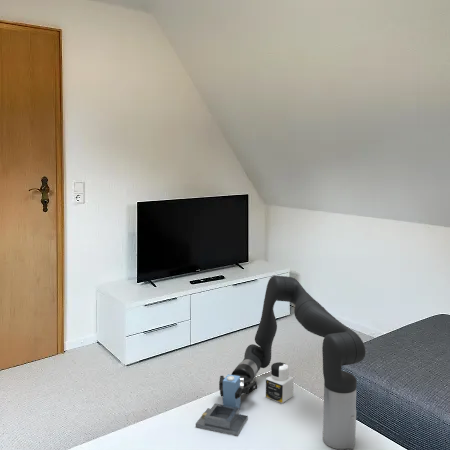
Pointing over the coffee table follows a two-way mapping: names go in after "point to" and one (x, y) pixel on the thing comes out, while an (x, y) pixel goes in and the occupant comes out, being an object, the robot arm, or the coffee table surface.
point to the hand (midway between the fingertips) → (229, 394)
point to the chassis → (222, 419)
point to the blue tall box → (231, 390)
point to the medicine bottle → (279, 383)
